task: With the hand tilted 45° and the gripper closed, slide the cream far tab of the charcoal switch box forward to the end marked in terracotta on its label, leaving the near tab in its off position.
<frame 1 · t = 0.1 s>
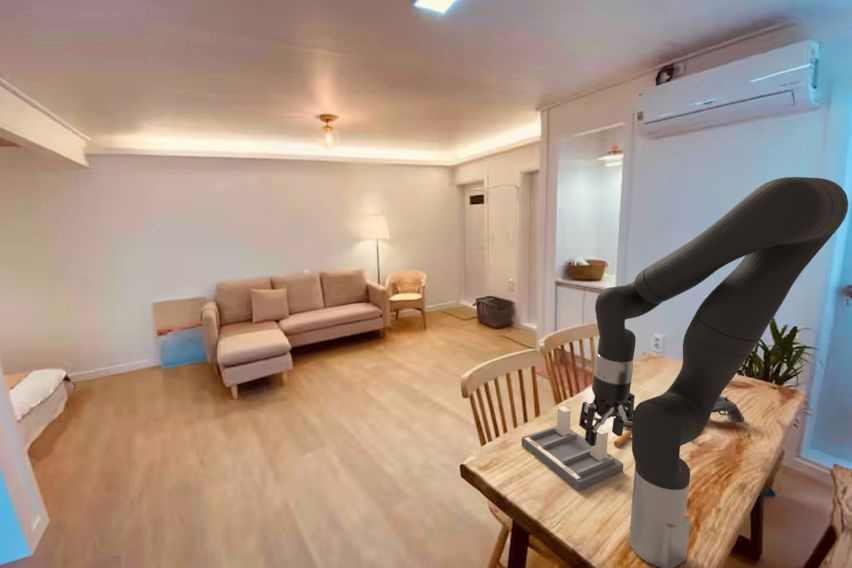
hand: (603, 438, 88), 17 cm above the table, tool pointing down, fingers open, 8 cm apart
switch box: (569, 457, 108), on the table
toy: (645, 432, 121), on the table
near tab: (599, 444, 103), point 7 cm above the table, slide at 0.0 cm
far tab: (563, 421, 115), point 7 cm above the table, slide at 0.0 cm
toy gun: (707, 419, 127), on the table
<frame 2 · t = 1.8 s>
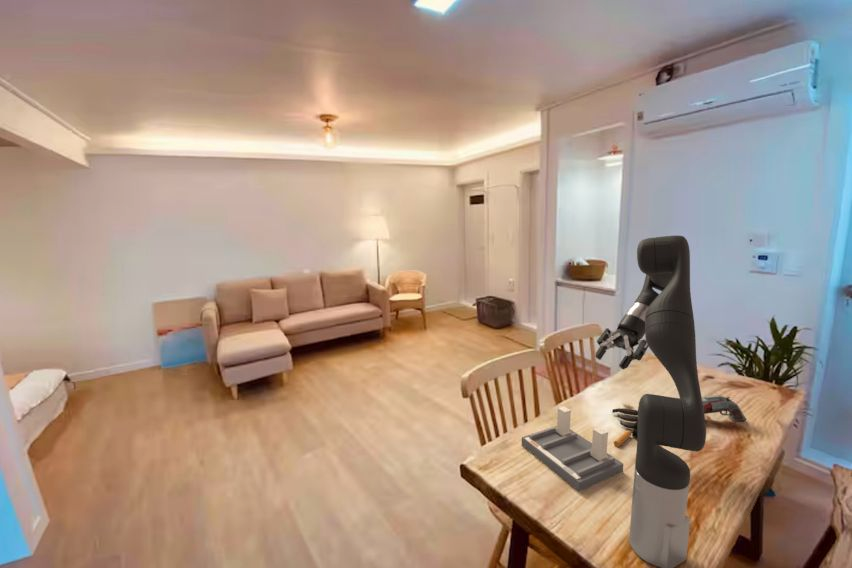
hand: (609, 362, 116), 23 cm above the table, tool tilted 45°, fingers open, 8 cm apart
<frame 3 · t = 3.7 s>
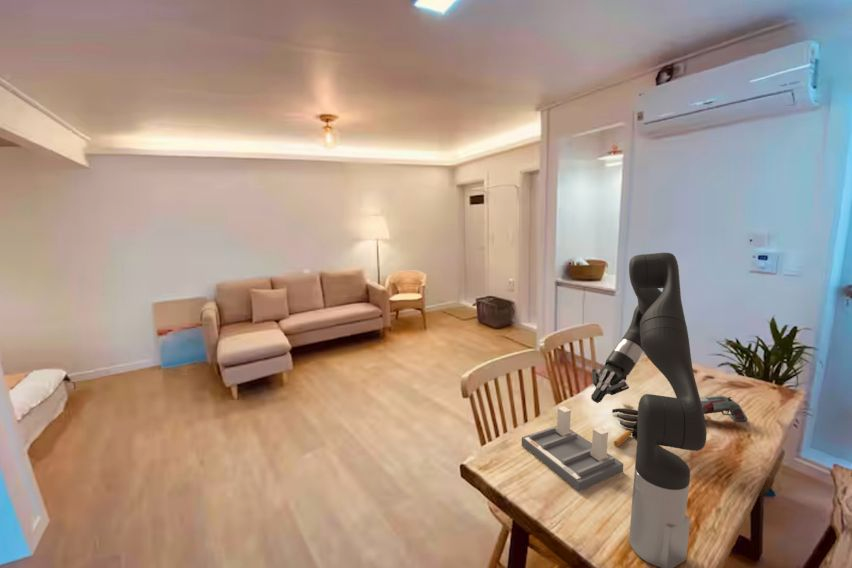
hand: (594, 401, 119), 11 cm above the table, tool tilted 45°, fingers closed
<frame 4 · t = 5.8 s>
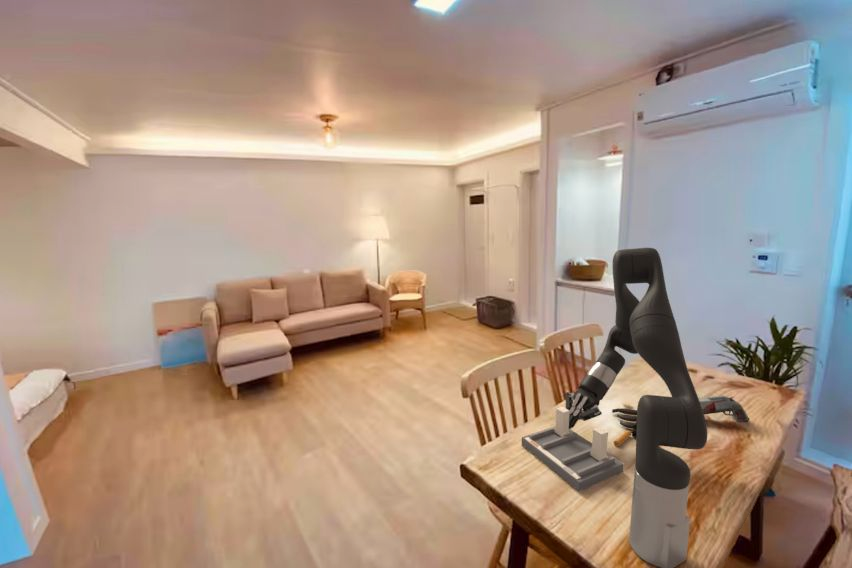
hand: (566, 426, 115), 5 cm above the table, tool tilted 45°, fingers closed
far tab: (562, 421, 114), point 7 cm above the table, slide at 0.5 cm, touching gripper
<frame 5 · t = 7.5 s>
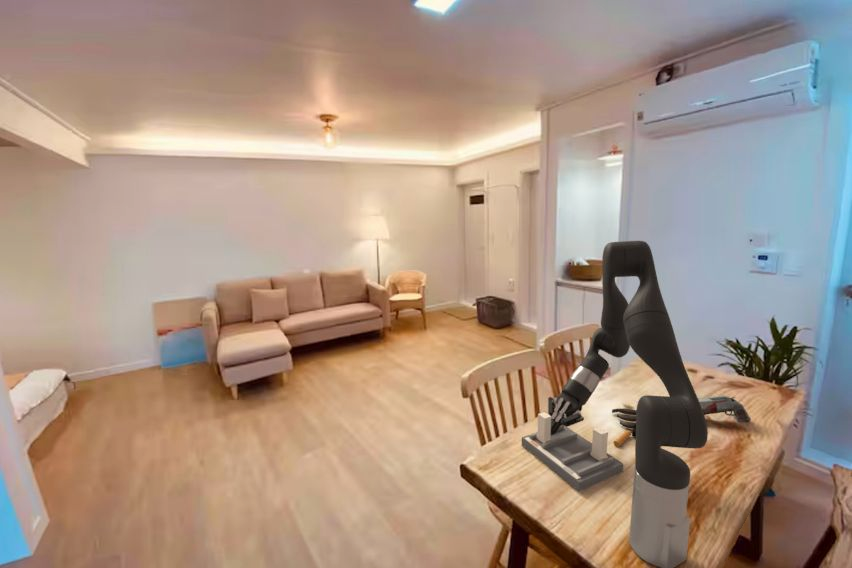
hand: (548, 432, 113), 5 cm above the table, tool tilted 45°, fingers closed
far tab: (544, 427, 111), point 7 cm above the table, slide at 7.6 cm, touching gripper
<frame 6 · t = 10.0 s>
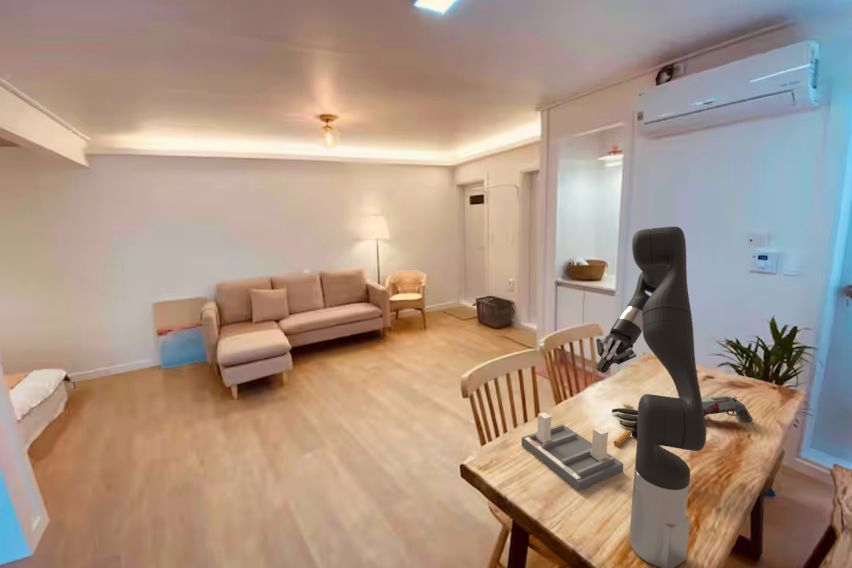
hand: (600, 371, 114), 22 cm above the table, tool tilted 45°, fingers closed
far tab: (544, 427, 111), point 7 cm above the table, slide at 7.6 cm
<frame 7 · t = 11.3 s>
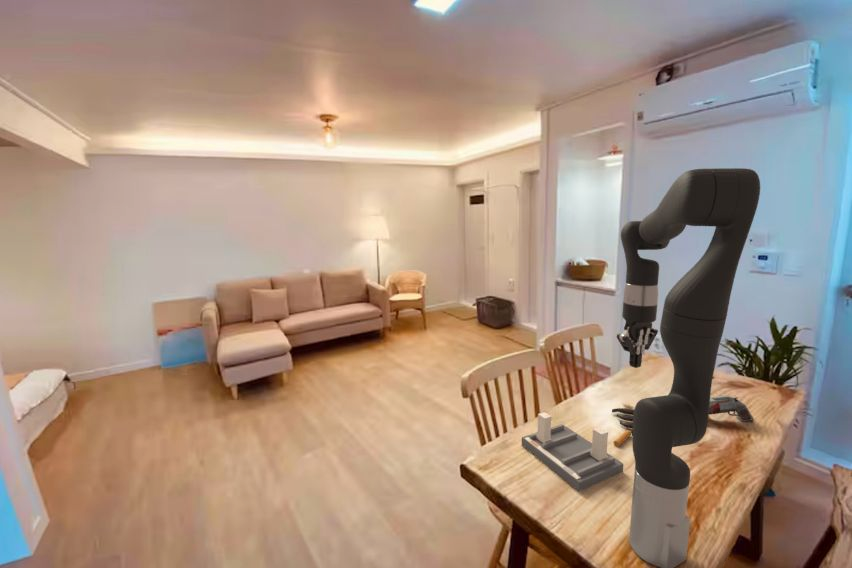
hand: (635, 366, 99), 29 cm above the table, tool pointing down, fingers closed
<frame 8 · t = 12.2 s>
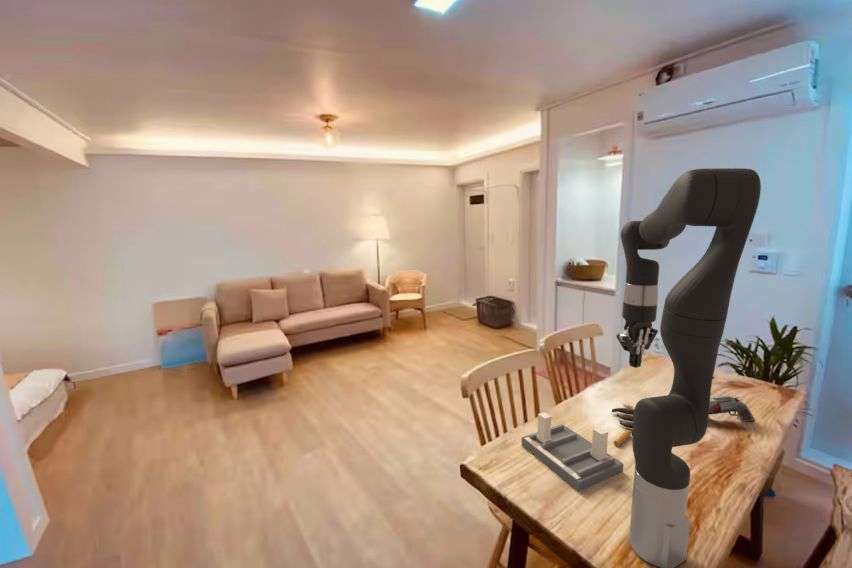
hand: (635, 366, 99), 29 cm above the table, tool pointing down, fingers closed
at the end: far tab slide at 7.6 cm; near tab slide at 0.0 cm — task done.
